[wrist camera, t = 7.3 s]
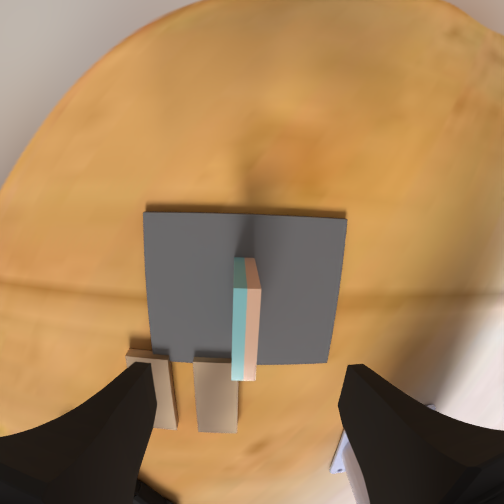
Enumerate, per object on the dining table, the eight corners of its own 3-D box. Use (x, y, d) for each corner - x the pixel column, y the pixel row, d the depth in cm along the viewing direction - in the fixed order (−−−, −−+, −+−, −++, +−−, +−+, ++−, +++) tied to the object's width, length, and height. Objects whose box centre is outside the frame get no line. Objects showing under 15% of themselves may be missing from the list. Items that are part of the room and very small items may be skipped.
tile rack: (238, 355, 20) (238, 363, 19) (236, 424, 22) (237, 433, 21) (129, 348, 20) (125, 355, 19) (143, 417, 22) (140, 425, 21)
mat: (345, 218, 18) (347, 219, 18) (325, 359, 21) (326, 362, 20) (145, 211, 18) (143, 212, 17) (154, 356, 20) (153, 359, 20)
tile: (254, 258, 18) (261, 288, 13) (250, 333, 20) (255, 380, 15) (234, 257, 18) (233, 288, 13) (231, 332, 19) (231, 380, 15)
